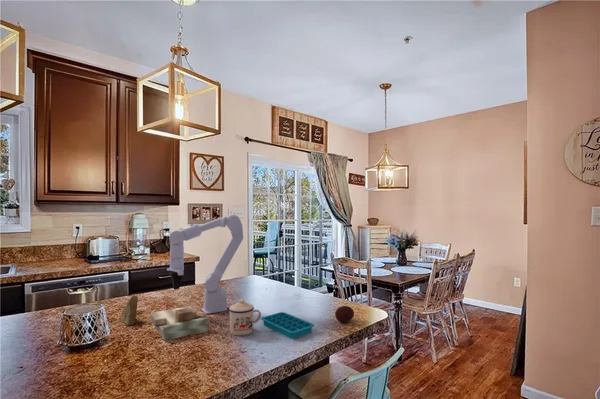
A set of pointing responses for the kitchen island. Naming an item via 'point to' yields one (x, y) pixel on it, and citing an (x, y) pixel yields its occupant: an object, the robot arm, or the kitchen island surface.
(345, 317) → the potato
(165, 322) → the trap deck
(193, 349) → the kitchen island surface
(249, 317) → the teacup with lid
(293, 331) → the ice cube tray
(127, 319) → the rock
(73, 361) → the kitchen island surface
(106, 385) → the kitchen island surface
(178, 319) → the block
